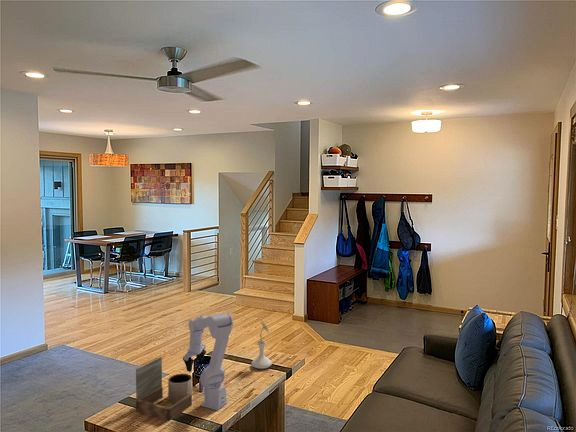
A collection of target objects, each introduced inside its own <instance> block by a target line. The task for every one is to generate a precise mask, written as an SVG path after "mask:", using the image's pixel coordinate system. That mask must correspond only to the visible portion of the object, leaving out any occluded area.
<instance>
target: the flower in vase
mask: <svg viewBox="0 0 576 432" xmlns="http://www.w3.org/2000/svg"><path fill="white" fill-rule="evenodd" d="M260 324H261V326H262V328H261V332H260V333H259V336H260V340H258V341H257V343H256V344H257V345H258V347H259V354H258V355H257V356H256V357H255V358H254V359H253V360H252V361H251V364H250V365H251V366H252V367H253V368H256V369H260V370H262V369H267V368H270V367H271V366H272V364H273V363H272V361H271V359H270V358H268V357H267V356H265V352H264V351H265V345H266V344H267V341H265V340H263V339H265V337H264V336H263V337H262V332H263V330H265V331H266V333H268V334H269V333H270V331H269V328H268V326H267V325H265V322H264V321H263V320H261V321H260Z"/></svg>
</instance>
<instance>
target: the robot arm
mask: <svg viewBox="0 0 576 432" xmlns="http://www.w3.org/2000/svg"><path fill="white" fill-rule="evenodd" d="M233 320H234V319H233V316H232V315H231V313H229V312H227V313H218V314H211V315H209V316H207V315H204V314H202V315H199V316H197V317H196V318H193V319H189V320H188V329H189V346H188V348H187V352H186V353H185V354H184V355H183V357H182V360H183V362H184V364H185V367H186V371H187V372H188V373H191V372H192V369H193V364H194V362H195V361H197V360H200V361H202V362H203V359H204V358H205V355H206V354H207V351H206V350H205V349H206V344H203V341H202V340H203V339H202V338H203V334H204V331H205V329H207V328H208V330H209V333H210V336H211V337H212V339H215V341H214V345H213V349H212V354H211V357H210V360H209V363H208V364H209V365H207V366H206V367H205V368H203V370H202V372H201V374H200V376H199V380H200V384H201V386H202V387H203V388H204V393H203V394H204V398H203V399H204V401H203V402H202V403H201V404H199V405H200V407H204V408H208V409H211V410H215V411H219V410H220V409H221V408H222V407H224V406H225V405H226V404H227V403H228V402H227V389H226V387H224V386H223V385H222V384H223V382H224V381H225V373H226V372H225V369H224V367H223V365H222V364H223V362H224V361H223V360H224V357H225V353H226V350H227V346H228V342H229V339H230V338H229V337H230V335H231V333H232V330H233V327H234V321H233ZM192 357H196V360H195V359H193V358H192Z"/></svg>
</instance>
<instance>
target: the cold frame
mask: <svg viewBox="0 0 576 432" xmlns="http://www.w3.org/2000/svg"><path fill="white" fill-rule="evenodd" d="M162 359H163V357H159V358H156V359H154V360H152V361H150V362H148V363H146V364H143V365H142V366H140V367H138V368H136V369H135V385H136V386H135V393H136V395H135V399H136V400H135V402H136V403H135V404H136V405H135V406H136V407H135V408H136V409H135V410H136V412H137V413H140V414H143V415H146V416H147V415H148V416H149V417H150V416H151V417H153V418H156V419H161V420H163V421H167V422H170V421H172V420H173V419H174V418H176V417H177V416H178V415H180V414H181V413H182V412H184V411H186V410H187V409H189V408H190V407H192V406H193V393H192V394H189V395H187V396H186V397H184V398H183V399H181V400H180V401H178V402H177V403H173V404H171V405H170V406H169V407H166V406H163V405H160V404H157V403H156V402H157V401H159V400H161V399H162V398H163V396H164V395H163V390H164V389H163V380H162V379H163V378H162V377H163V375H162V374H163V367H162V365H163V363H162V362H163V361H162Z"/></svg>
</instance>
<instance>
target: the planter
mask: <svg viewBox="0 0 576 432" xmlns="http://www.w3.org/2000/svg"><path fill="white" fill-rule="evenodd" d="M192 379H193V377H192V375H190V374H188V373H177V374H174V375H171V376H170V377H169V378H168V380H167V381H168V383H167V385H168V386H167V388H168V389H167V391H168V392H167V393H168V394H167V398H168V399H167V400H168V401H169V402H171V403H173V404H175V403H177V402H178V401H180V400H181V399H183V398H184V397H186V396H187V395H189V394H192V395H193V385H192V384H193V380H192Z"/></svg>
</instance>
